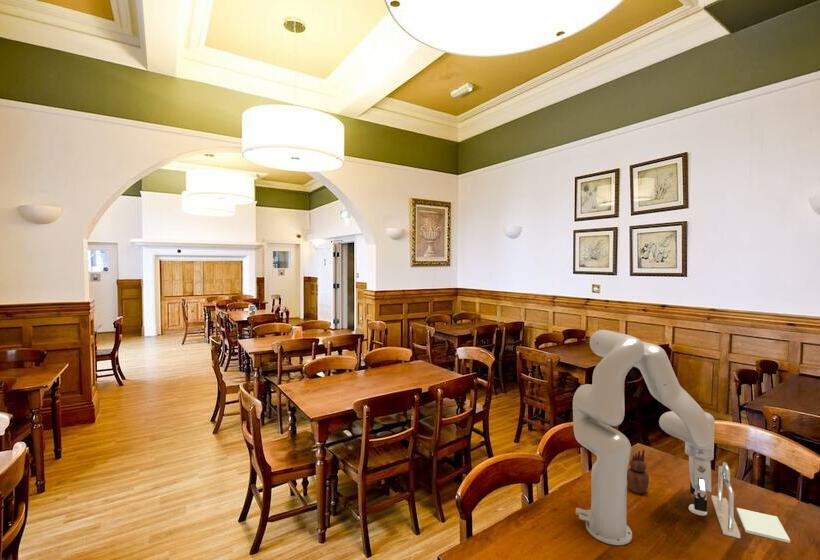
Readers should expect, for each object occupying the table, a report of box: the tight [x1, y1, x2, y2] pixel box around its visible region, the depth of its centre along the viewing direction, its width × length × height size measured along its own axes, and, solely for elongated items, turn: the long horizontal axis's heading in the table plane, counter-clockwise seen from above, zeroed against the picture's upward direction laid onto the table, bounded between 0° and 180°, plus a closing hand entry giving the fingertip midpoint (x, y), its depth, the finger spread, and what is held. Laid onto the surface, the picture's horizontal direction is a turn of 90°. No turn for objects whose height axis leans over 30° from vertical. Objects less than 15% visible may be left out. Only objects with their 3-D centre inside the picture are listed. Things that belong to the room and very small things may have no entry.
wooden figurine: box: [627, 449, 650, 494], centre depth 142 cm, size 7×6×15 cm
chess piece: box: [688, 486, 708, 516], centre depth 131 cm, size 5×5×10 cm
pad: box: [736, 507, 791, 544], centre depth 123 cm, size 10×12×1 cm
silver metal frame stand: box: [711, 461, 741, 539], centre depth 127 cm, size 4×20×17 cm, turn 151°
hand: (698, 501), depth 131 cm, fingers open, 9 cm apart
